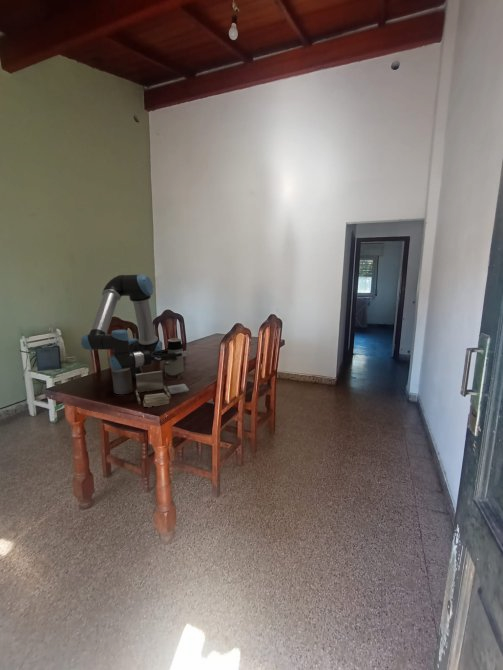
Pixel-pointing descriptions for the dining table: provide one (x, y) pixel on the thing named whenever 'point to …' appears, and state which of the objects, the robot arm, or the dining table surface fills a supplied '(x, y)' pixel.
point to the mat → (177, 388)
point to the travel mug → (177, 364)
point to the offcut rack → (152, 388)
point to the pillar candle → (122, 381)
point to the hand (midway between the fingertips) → (183, 351)
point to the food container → (170, 375)
